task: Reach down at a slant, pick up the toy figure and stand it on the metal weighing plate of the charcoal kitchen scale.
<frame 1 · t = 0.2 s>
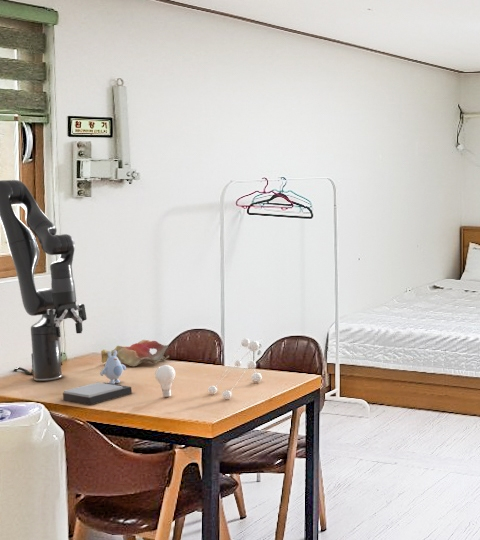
hand: (68, 335, 313), 17 cm above the table, tool pointing down, fingers open, 8 cm apart
toy figure: (114, 384, 313), on the table
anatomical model: (139, 362, 347), on the table
lightbulb: (166, 398, 292), on the table
molecule model: (239, 390, 300), on the table
scale: (97, 396, 295), on the table
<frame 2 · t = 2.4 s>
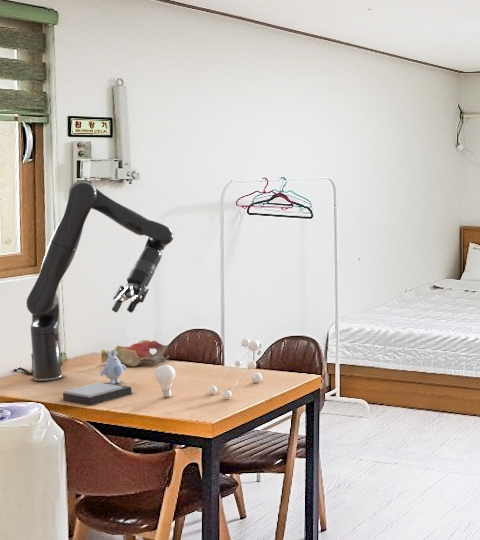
hand: (121, 311, 317), 25 cm above the table, tool tilted 40°, fingers open, 8 cm apart
nothing on the table moved.
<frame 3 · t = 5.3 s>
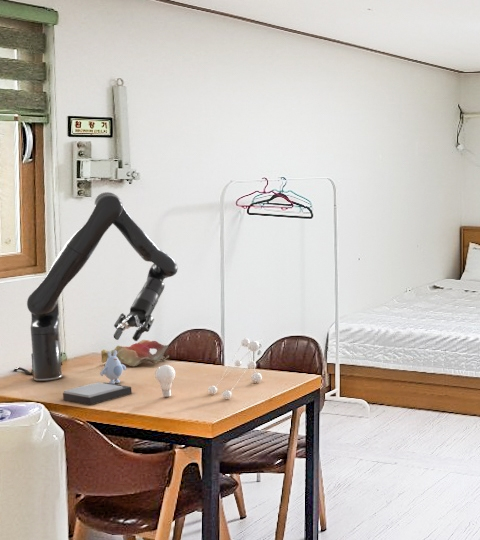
hand: (125, 339, 317), 15 cm above the table, tool tilted 45°, fingers open, 8 cm apart
nothing on the table moved.
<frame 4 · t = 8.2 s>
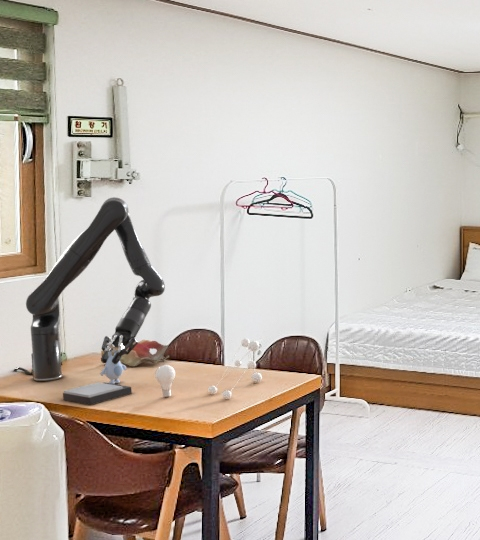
hand: (108, 362, 310), 8 cm above the table, tool tilted 45°, fingers closed on toy figure, 4 cm apart
toy figure: (114, 383, 313), on the table, touching gripper
everything else where it was.
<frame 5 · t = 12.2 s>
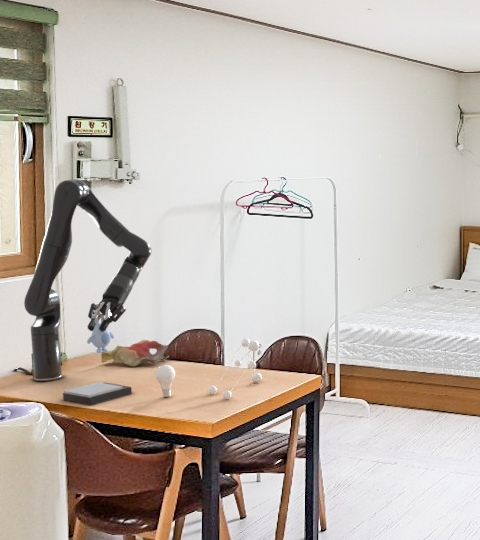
hand: (95, 329, 298), 22 cm above the table, tool tilted 45°, fingers closed on toy figure, 4 cm apart
toy figure: (101, 352, 301), point 14 cm above the table, touching gripper
everything else where it was.
when the fingers open (11 cm above the table, at t = 16.6 s): toy figure stays where it is, resting on scale.
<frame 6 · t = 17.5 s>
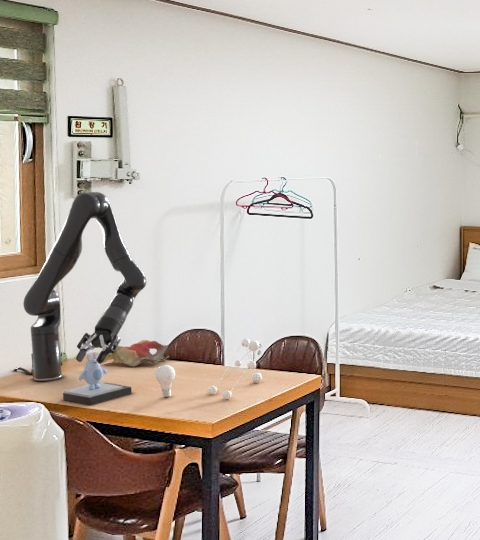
hand: (88, 361, 291), 13 cm above the table, tool tilted 45°, fingers open, 8 cm apart
toy figure: (94, 388, 293), point 3 cm above the table, touching scale
everything else where it was.
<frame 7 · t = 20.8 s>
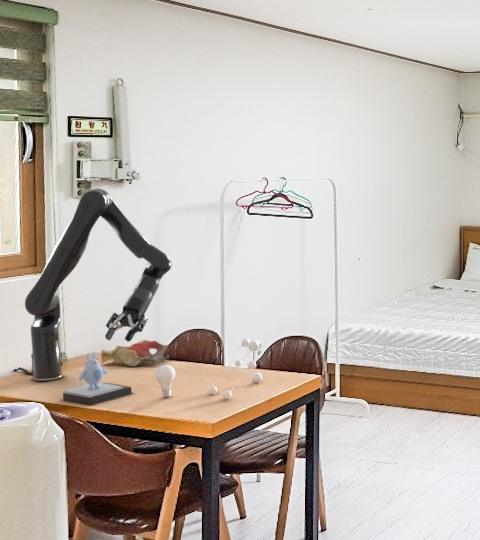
hand: (117, 339, 304), 17 cm above the table, tool tilted 45°, fingers open, 8 cm apart
nothing on the table moved.
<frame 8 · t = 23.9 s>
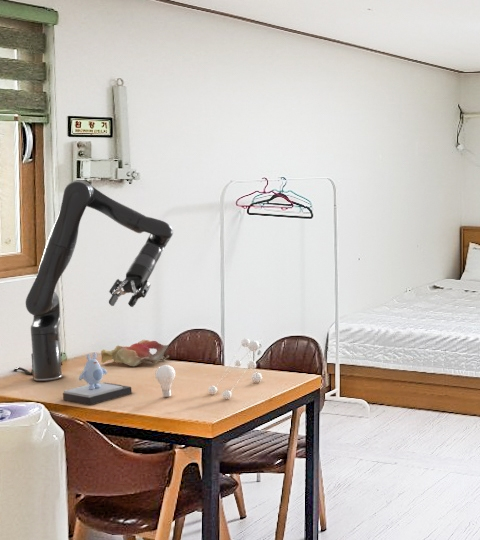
hand: (120, 305, 308), 29 cm above the table, tool tilted 45°, fingers open, 8 cm apart
nothing on the table moved.
at the end: toy figure inside the target area on the scale (0.3 cm from its centre), point 3.0 cm above the scale's base; toy figure tilted 0°; the gripper is holding nothing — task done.
